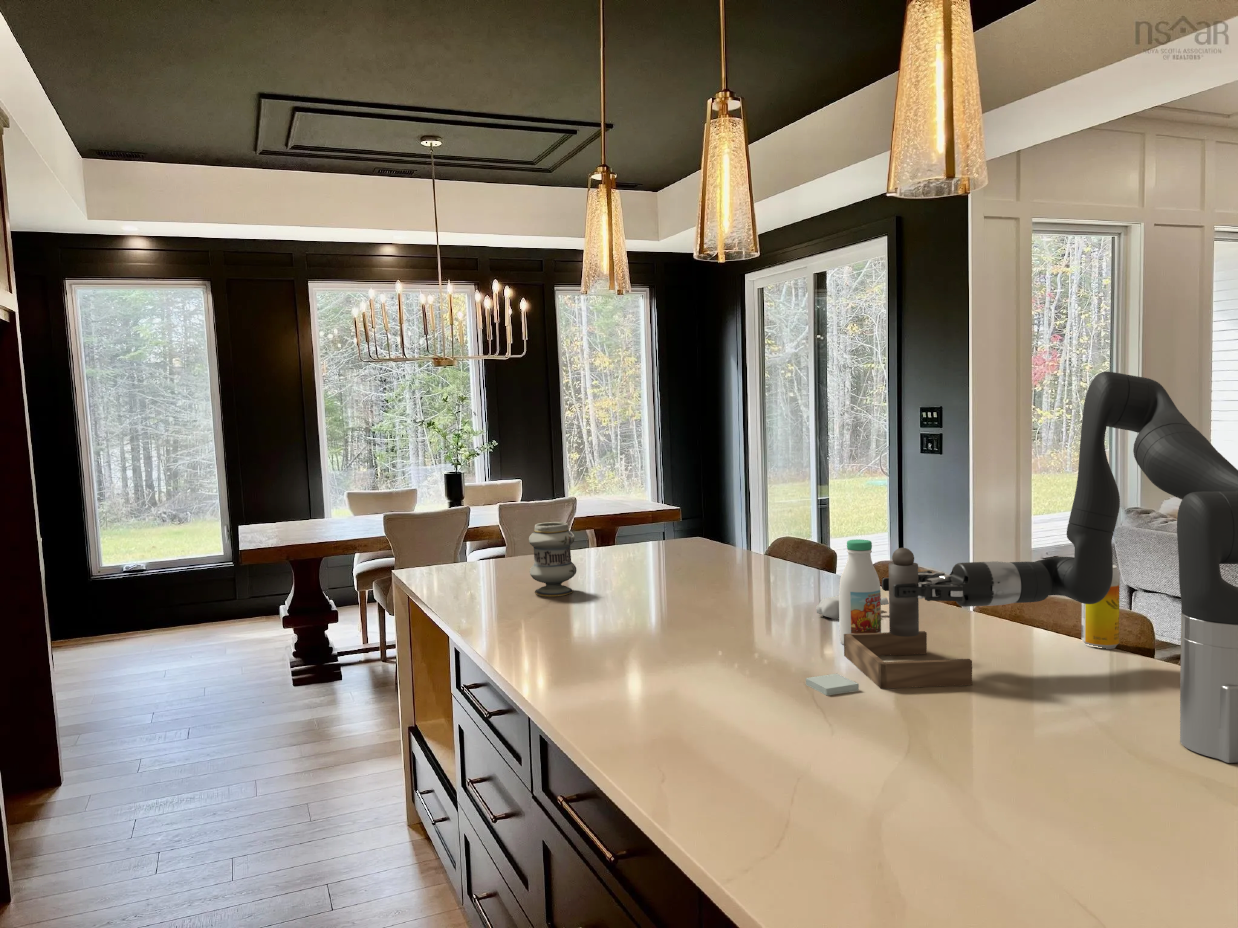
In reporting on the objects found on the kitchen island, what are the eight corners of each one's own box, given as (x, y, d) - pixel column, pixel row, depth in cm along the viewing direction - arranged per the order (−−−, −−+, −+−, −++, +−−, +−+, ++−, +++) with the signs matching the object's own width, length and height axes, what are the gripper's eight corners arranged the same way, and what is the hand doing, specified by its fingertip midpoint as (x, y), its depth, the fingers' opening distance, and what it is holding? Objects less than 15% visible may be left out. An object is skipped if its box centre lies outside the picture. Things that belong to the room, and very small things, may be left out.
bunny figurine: (808, 596, 187) (865, 582, 192) (811, 618, 188) (868, 604, 192) (831, 605, 178) (891, 590, 183) (834, 628, 179) (893, 613, 183)
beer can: (1124, 650, 153) (1124, 568, 152) (1087, 649, 154) (1088, 568, 154) (1111, 641, 159) (1112, 562, 158) (1076, 640, 160) (1077, 562, 160)
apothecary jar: (526, 590, 221) (524, 522, 220) (570, 586, 225) (568, 519, 224) (535, 599, 210) (533, 527, 209) (582, 595, 213) (580, 524, 212)
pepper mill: (923, 635, 143) (922, 549, 142) (895, 637, 143) (894, 550, 142) (912, 628, 148) (911, 545, 147) (885, 629, 147) (884, 546, 146)
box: (972, 684, 136) (972, 660, 136) (880, 688, 135) (880, 663, 135) (924, 652, 155) (924, 630, 155) (844, 655, 154) (843, 633, 154)
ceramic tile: (858, 693, 135) (858, 683, 135) (826, 698, 133) (826, 688, 133) (837, 682, 140) (836, 673, 140) (805, 687, 138) (805, 677, 138)
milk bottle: (835, 646, 160) (834, 542, 159) (844, 636, 167) (843, 536, 166) (876, 650, 157) (876, 544, 156) (884, 640, 164) (883, 538, 163)
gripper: (966, 555, 152) (873, 558, 151) (1006, 569, 138) (903, 574, 137) (966, 595, 152) (873, 599, 152) (1006, 615, 138) (904, 619, 138)
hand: (888, 587), depth 144 cm, fingers closed on pepper mill, 4 cm apart
